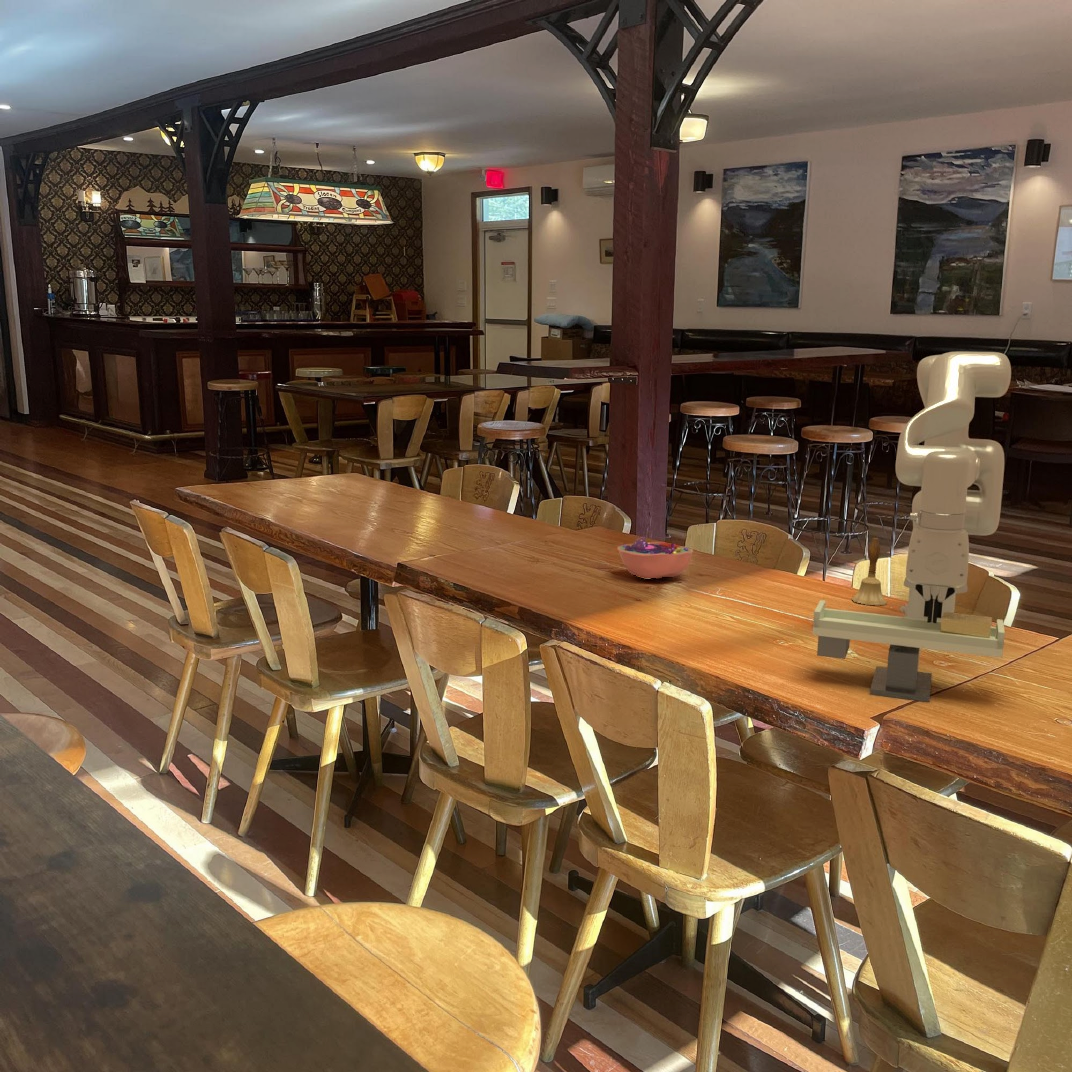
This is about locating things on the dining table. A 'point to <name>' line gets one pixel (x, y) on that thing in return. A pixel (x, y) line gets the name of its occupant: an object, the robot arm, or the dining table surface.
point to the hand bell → (871, 581)
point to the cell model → (655, 558)
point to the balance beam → (895, 633)
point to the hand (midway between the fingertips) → (932, 621)
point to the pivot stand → (902, 676)
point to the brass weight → (966, 624)
